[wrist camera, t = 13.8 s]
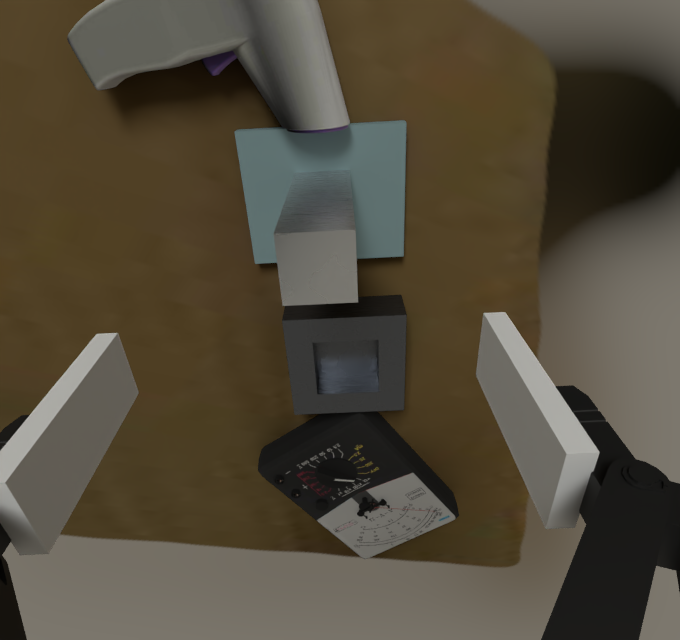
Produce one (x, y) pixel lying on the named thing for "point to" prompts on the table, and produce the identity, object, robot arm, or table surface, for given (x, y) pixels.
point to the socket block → (347, 355)
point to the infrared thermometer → (221, 50)
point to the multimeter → (358, 480)
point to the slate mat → (328, 155)
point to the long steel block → (317, 240)
